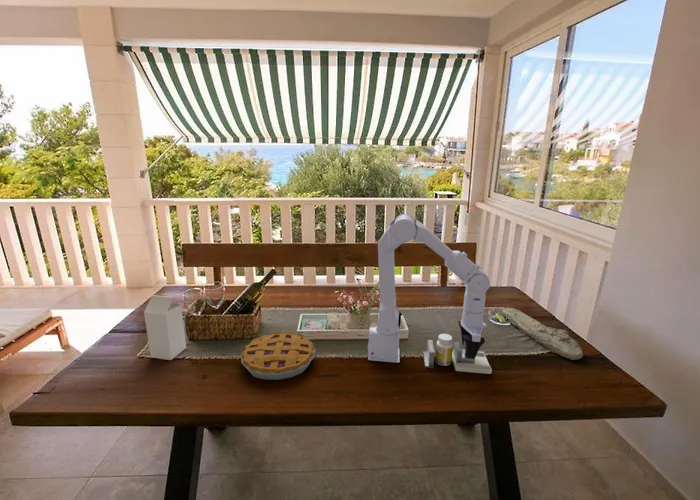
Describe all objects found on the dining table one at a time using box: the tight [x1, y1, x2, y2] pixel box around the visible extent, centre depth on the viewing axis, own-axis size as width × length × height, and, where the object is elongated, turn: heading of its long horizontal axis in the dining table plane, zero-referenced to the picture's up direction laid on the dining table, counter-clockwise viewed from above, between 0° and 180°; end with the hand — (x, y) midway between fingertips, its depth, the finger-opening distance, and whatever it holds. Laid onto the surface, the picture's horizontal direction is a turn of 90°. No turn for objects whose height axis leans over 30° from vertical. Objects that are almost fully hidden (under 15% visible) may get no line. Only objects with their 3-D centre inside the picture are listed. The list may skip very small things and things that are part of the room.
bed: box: [452, 348, 493, 375], centre depth 106 cm, size 10×9×2 cm
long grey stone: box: [501, 307, 584, 361], centre depth 124 cm, size 35×5×10 cm
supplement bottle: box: [434, 333, 454, 367], centre depth 106 cm, size 5×5×8 cm
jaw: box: [422, 339, 436, 369], centre depth 107 cm, size 2×8×5 cm, turn 173°
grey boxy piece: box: [453, 340, 475, 364], centre depth 105 cm, size 5×6×6 cm
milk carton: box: [143, 294, 187, 361], centre depth 107 cm, size 7×7×19 cm
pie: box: [240, 331, 316, 381], centre depth 105 cm, size 22×22×5 cm
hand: (468, 351), depth 105 cm, fingers open, 7 cm apart
